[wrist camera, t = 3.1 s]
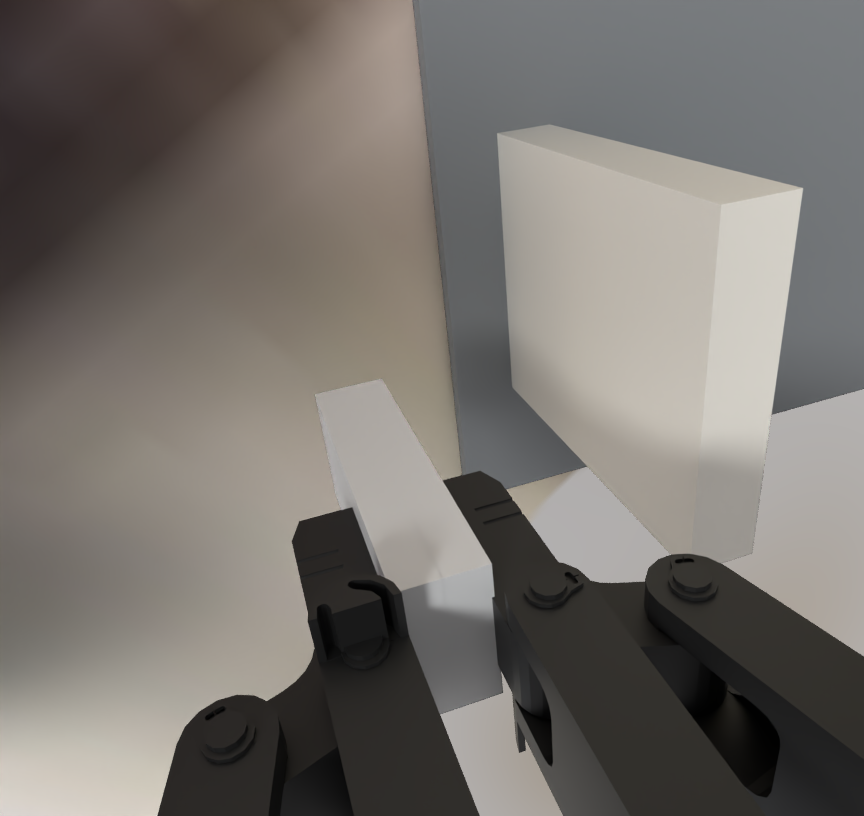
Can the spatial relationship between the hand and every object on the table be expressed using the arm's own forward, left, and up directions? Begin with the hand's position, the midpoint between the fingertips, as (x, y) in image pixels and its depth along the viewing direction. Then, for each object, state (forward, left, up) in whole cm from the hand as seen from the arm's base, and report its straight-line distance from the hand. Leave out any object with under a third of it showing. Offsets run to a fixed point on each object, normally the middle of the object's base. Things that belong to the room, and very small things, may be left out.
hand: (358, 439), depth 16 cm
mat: (+16, 0, -9) cm, 18 cm away
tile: (+8, 0, -8) cm, 12 cm away
